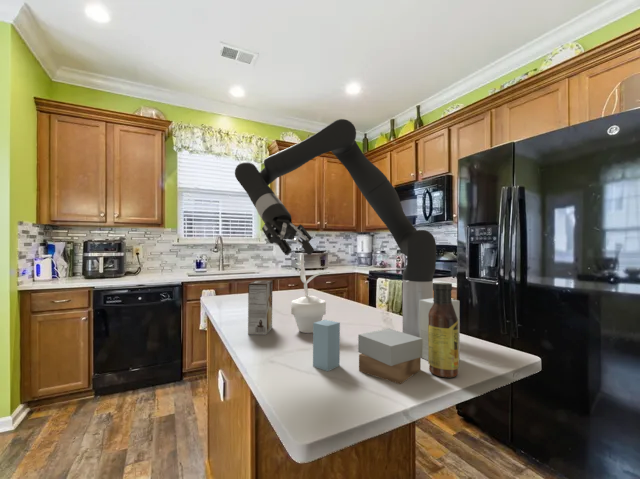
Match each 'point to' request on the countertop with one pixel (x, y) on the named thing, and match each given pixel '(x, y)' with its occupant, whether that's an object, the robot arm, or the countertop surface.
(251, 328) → the coffee box
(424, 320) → the skincare box
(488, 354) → the countertop surface
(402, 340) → the block top
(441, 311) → the sauce bottle
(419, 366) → the block bottom
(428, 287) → the robot arm
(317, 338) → the blue block
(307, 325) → the potted plant
